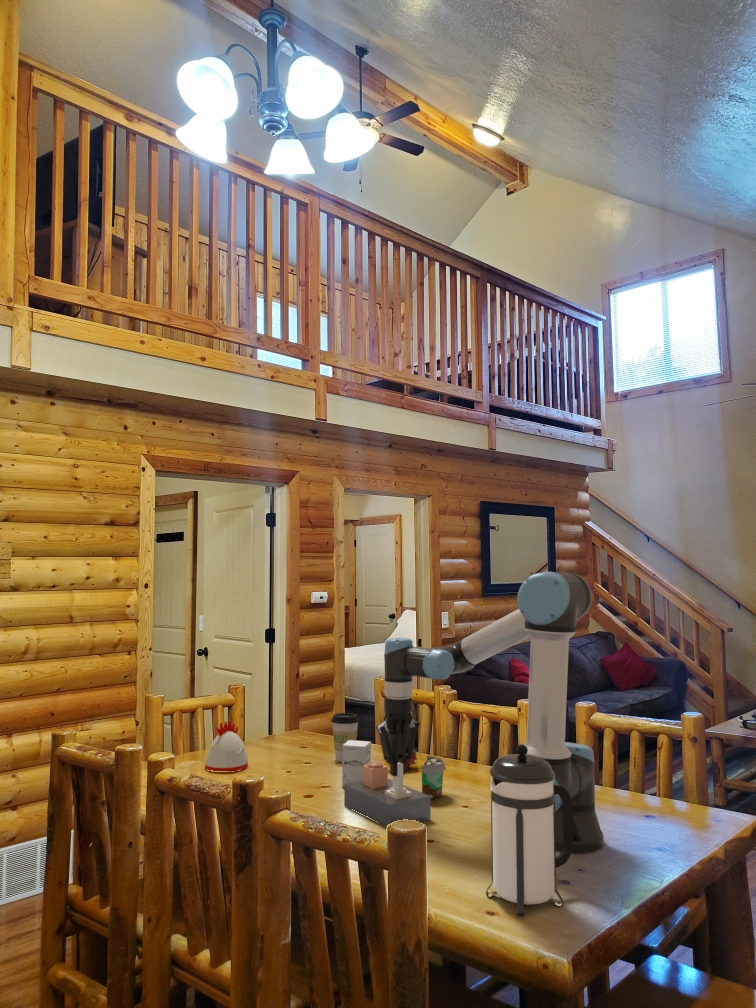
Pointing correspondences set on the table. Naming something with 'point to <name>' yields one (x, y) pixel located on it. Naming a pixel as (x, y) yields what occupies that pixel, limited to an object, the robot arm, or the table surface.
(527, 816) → the coffee press
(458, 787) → the table surface
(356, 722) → the coffee cup
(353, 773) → the supplement box
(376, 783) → the terracotta plunger
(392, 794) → the dome-topped white cube
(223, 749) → the kitchen timer
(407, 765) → the dragon fruit
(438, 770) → the food container
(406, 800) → the block
